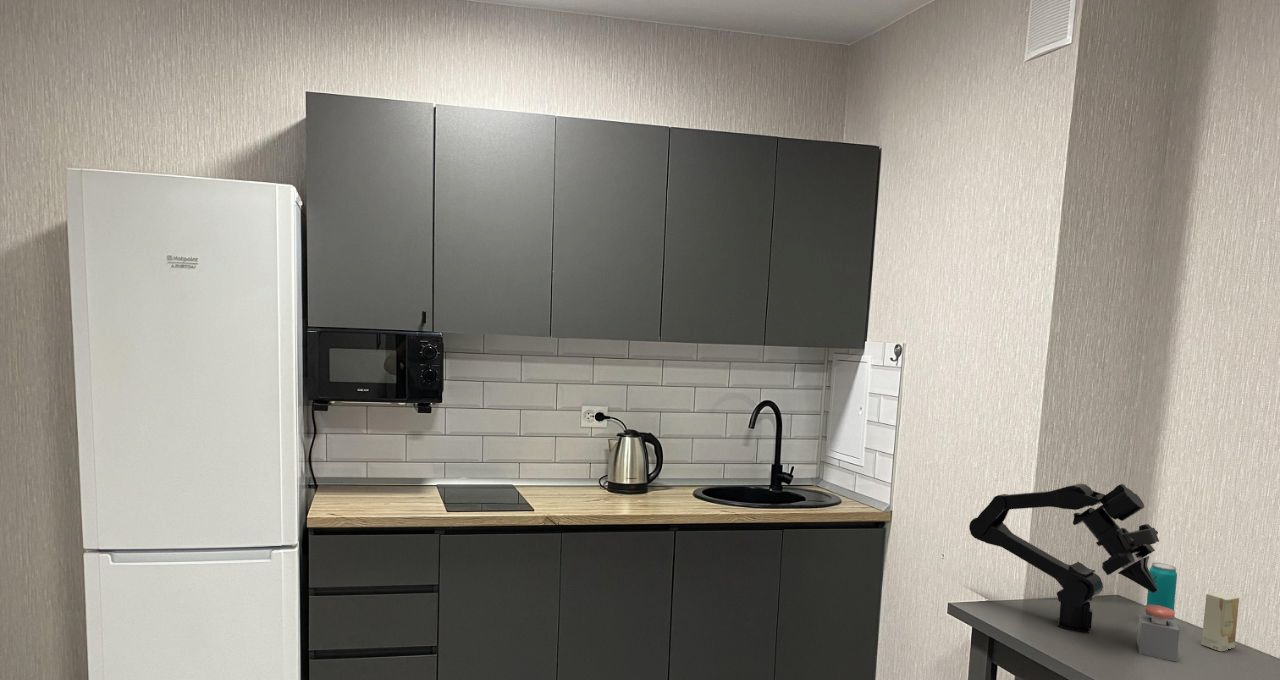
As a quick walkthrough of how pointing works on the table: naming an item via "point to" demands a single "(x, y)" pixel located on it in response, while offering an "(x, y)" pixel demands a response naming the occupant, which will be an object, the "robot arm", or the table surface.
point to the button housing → (1158, 638)
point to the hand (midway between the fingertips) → (1155, 591)
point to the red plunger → (1159, 613)
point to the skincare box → (1220, 621)
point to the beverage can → (1163, 586)
